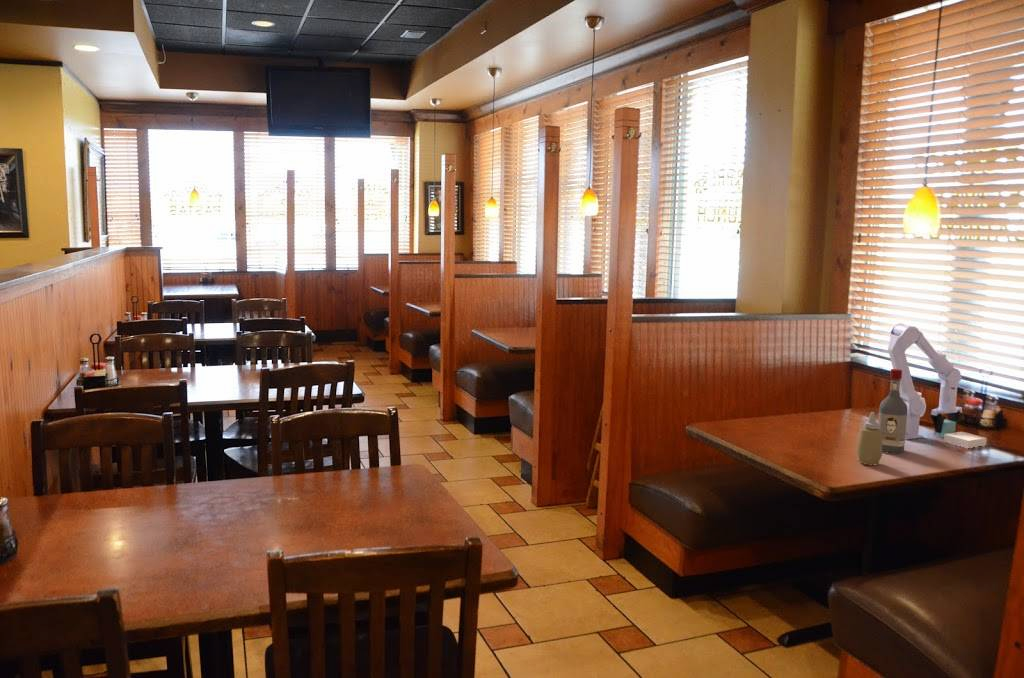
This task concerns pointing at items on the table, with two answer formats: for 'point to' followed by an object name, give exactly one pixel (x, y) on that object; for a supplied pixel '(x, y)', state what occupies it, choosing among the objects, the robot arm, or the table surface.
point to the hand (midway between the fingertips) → (944, 431)
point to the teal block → (947, 428)
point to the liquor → (893, 417)
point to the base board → (964, 439)
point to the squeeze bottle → (870, 442)
